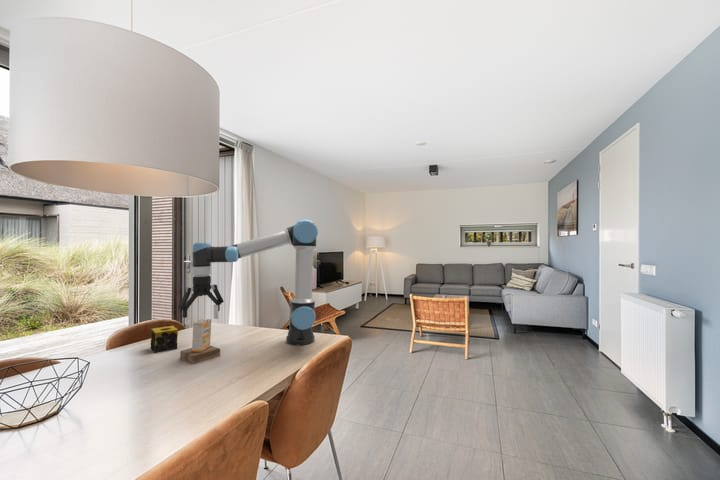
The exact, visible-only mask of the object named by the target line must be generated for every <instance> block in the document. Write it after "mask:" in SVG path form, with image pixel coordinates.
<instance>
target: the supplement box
mask: <svg viewBox="0 0 720 480" xmlns="http://www.w3.org/2000/svg"><path fill="white" fill-rule="evenodd" d="M211 331H212V319H211V318H207V319H205V318H204V319H199V320H198V321H195V322H193V323H192V341H191V342H192V346H191V348H192V352H202V351H204V350H205V349H207V348H208V347H210V346H211V340H212V339H211V335H212V332H211Z"/></svg>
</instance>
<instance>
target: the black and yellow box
mask: <svg viewBox="0 0 720 480" xmlns="http://www.w3.org/2000/svg"><path fill="white" fill-rule="evenodd" d="M150 330H151V334H150V335H151V339H150V350H151V351H152V352H153V353H154V354H157V353H158V352H159V353H162V352H168V351H173V350H177V349H178V335H179V334H178V333H179V332H178V331H179V330H178V328H177V327H175V325H170V326H162V327H154V328H151V329H150Z"/></svg>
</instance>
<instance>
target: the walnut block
mask: <svg viewBox="0 0 720 480" xmlns="http://www.w3.org/2000/svg"><path fill="white" fill-rule="evenodd" d="M218 357H221V349H220V347H219V348H218V347H216V346H213V345H210V347H208V348H207V349H205V350H204V351H202V352H192V347H191V348H187V349H183V350H180V359H181V360H183V361H186V362H188V363H191V364H193V365H195V364H199V363H203V362H206V361H209V360H212V359H215V358H218Z"/></svg>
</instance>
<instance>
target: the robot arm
mask: <svg viewBox="0 0 720 480" xmlns="http://www.w3.org/2000/svg"><path fill="white" fill-rule="evenodd" d="M318 234H319V230H318V226H317V225H316V223H315V222H314V221H312V220H310V219H301V220H298V221H297V222H296V223H295V224H294V225H292V226H290V227H286V228H285V229H284V230H282V231H279V232H275V233H272V234H267V235H265V236H261V237H256V238H254V239H251V240H246V241H243V242H239V243H236V244H233V245H227V246H225V245H224V246H212V244H211V242H194V243H193V244H192V252H191V253H192V275H193V276H192V287H185V291H184V294H183V296H182V299H181V300H180V302H179V305H178V307H177V309H178V310H181V311H182V318H184V325H186V326H189V325H190V309H189V308H190V307H191V305H192V304H193V303H194V301H195V300H196V299H197V298H198V297H202V296H207V297H208V298H209V299H210V300H211V301H212V302H213V303H214V304H213V319H215V320H219V312H220V309H221V308H220V306H221V305H222V304H223V303H224V301H225V300H224V299H223V297H222V295H221V293H220V292H219V289H218V285H217V284H215V283H214V284H213V283H212V278H211V277H212V276H211V274H212V270H211V269H212V267H211V265H212V264H214V263H237V262H238V260H239V259H242V258H245V257H248V256H252V255H256V254H259V253H262V252H266V251H269V250H273V249H275V248H280V247H283V246H286V245H290V246H292V247H293V248H294V249H295V268H294V269H295V273H294V298H292V299H290V300H289V327H288V332H287V336H286V338H285V339H286V340H285V343H286V344H288V345H292V346H305V345H310V344H312V343H314V342H315V339H316V337H315V335H314V334H315V333H314V330H313V325H314V324H315V322H316V317H317V316H316V315H317V314H316V312H315V311H316V310H315V308H316V304H315V303H316V301H315V299H314V298H313V271H314V270H313V269H314V267H313V266H314V250H315V249H316V248H317V237H318ZM211 290H212V291H213V293H214V294H213V293H212V291H211ZM214 295H215V296H214Z"/></svg>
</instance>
